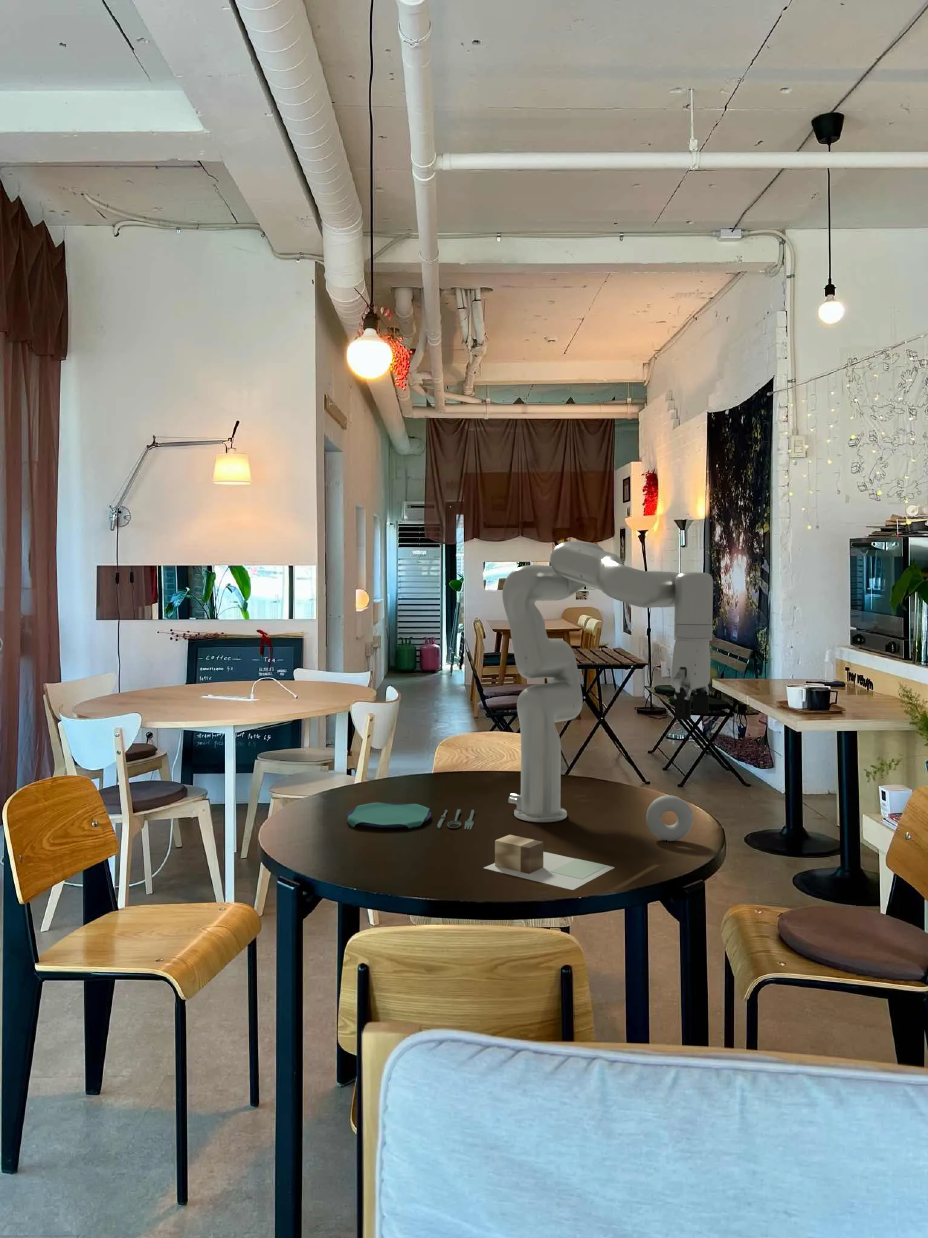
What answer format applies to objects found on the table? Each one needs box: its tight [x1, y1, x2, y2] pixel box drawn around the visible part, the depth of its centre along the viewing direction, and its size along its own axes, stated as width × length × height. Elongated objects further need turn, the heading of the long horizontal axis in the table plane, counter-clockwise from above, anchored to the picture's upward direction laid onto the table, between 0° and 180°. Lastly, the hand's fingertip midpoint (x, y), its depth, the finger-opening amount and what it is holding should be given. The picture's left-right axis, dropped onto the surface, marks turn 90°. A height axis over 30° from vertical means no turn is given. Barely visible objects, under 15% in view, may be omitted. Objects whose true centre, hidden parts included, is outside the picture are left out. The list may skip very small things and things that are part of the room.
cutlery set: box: [346, 801, 475, 831], centre depth 207 cm, size 20×30×2 cm, turn 84°
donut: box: [645, 794, 694, 842], centre depth 191 cm, size 10×4×10 cm, turn 80°
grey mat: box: [483, 851, 615, 891], centre depth 171 cm, size 20×16×1 cm
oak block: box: [494, 834, 544, 874], centre depth 172 cm, size 8×5×5 cm, turn 53°
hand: (691, 716), depth 181 cm, fingers open, 9 cm apart
